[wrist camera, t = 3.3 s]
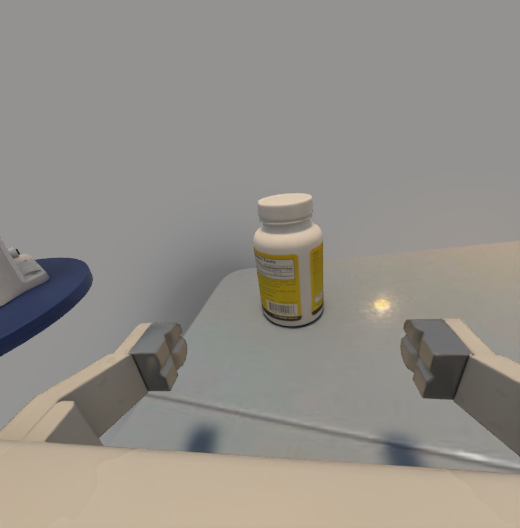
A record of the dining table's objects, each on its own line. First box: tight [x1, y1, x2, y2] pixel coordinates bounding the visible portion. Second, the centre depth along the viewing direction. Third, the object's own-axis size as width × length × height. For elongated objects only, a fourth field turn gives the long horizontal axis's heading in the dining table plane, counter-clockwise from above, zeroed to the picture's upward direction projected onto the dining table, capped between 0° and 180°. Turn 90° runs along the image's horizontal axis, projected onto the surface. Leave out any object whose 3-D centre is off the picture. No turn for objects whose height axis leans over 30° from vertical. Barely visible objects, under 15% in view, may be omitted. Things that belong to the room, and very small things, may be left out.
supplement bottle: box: [253, 193, 323, 326], centre depth 20 cm, size 5×5×10 cm
